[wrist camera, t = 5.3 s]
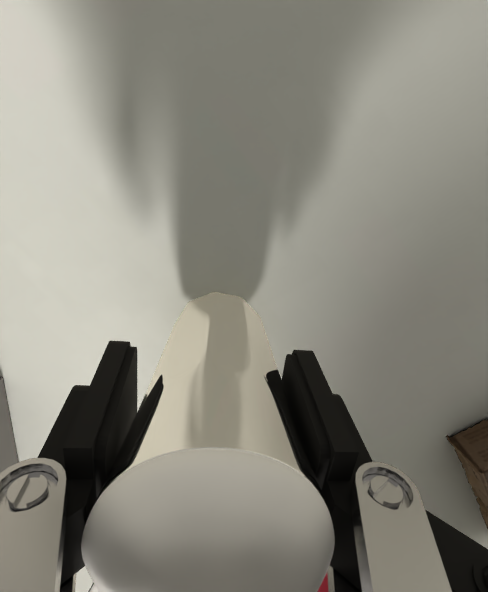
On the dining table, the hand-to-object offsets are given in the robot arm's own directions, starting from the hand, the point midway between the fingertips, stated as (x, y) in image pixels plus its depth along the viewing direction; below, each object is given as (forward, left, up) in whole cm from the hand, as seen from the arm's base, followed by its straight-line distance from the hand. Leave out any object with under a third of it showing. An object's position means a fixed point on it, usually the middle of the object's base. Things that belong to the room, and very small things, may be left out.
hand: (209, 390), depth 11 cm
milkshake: (0, 0, -4) cm, 4 cm away
